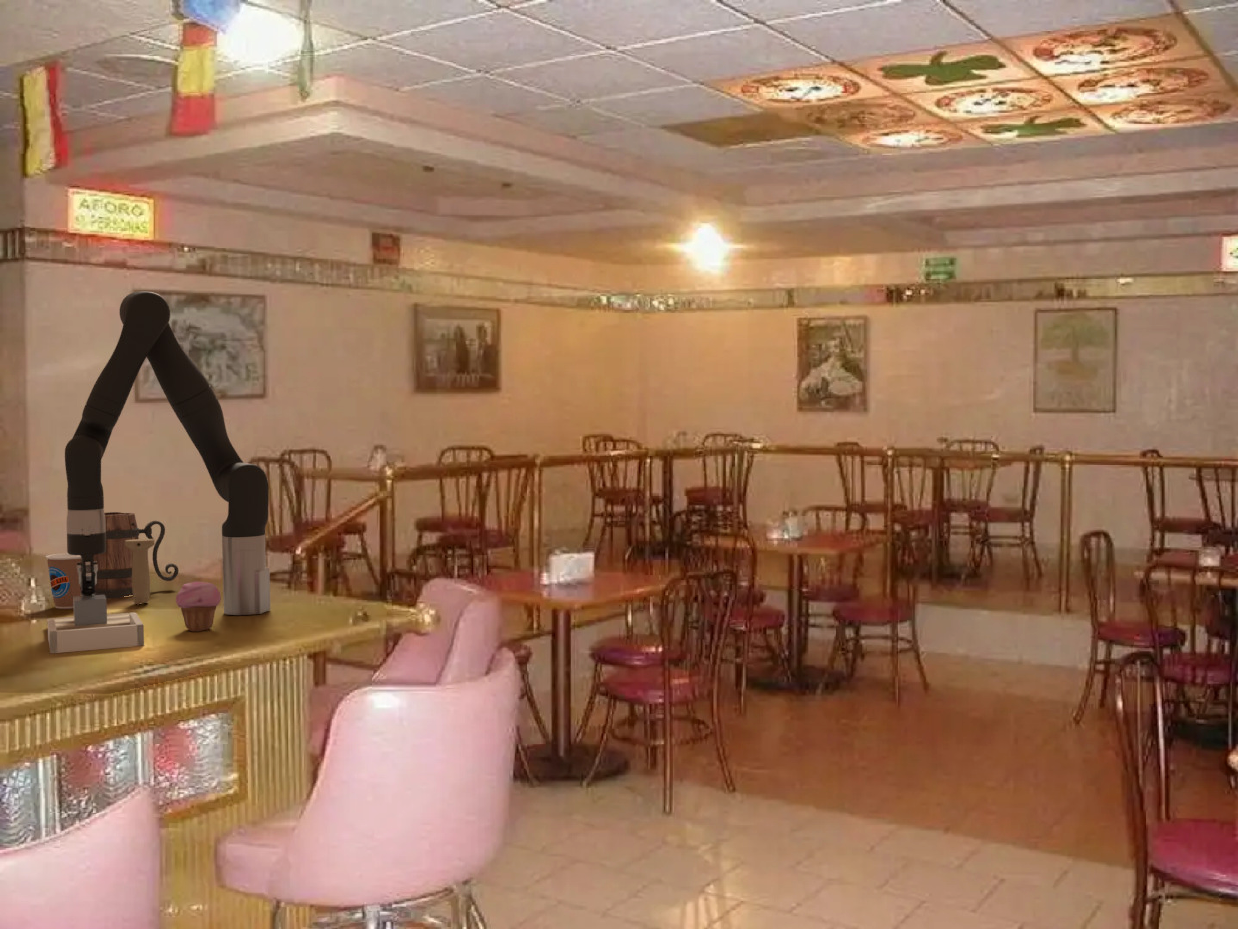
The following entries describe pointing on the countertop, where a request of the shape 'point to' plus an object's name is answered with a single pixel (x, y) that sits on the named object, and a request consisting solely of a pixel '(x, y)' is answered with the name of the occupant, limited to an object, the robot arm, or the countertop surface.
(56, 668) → the countertop surface
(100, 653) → the countertop surface
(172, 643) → the countertop surface
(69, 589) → the coffee cup
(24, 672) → the countertop surface
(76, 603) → the matte grey cube
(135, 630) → the box
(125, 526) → the tankard
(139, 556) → the handle
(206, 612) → the cupcake
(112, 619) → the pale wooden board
